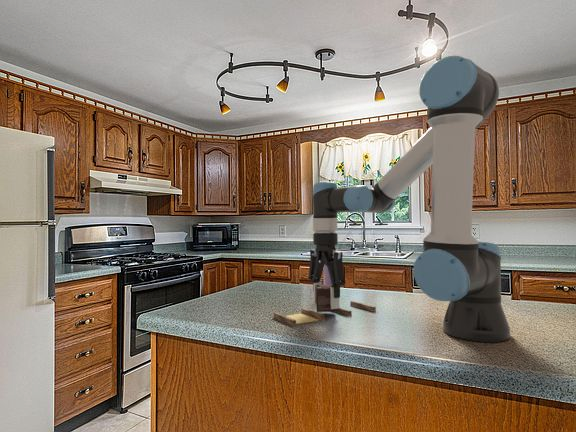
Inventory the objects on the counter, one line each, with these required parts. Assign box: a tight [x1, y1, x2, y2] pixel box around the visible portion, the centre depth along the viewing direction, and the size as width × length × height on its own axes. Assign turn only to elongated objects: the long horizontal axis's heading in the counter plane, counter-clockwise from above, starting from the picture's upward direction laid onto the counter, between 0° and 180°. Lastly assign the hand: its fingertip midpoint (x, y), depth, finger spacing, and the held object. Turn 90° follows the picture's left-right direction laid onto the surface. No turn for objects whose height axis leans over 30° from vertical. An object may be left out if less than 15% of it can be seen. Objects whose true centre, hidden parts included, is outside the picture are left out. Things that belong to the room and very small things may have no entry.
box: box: [315, 284, 337, 313], centre depth 114 cm, size 6×6×7 cm
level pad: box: [286, 312, 319, 326], centre depth 109 cm, size 9×8×1 cm
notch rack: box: [273, 300, 377, 327], centre depth 114 cm, size 11×31×2 cm, turn 121°
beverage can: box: [323, 264, 336, 285], centre depth 139 cm, size 6×6×15 cm
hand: (326, 305), depth 114 cm, fingers closed on box, 8 cm apart
